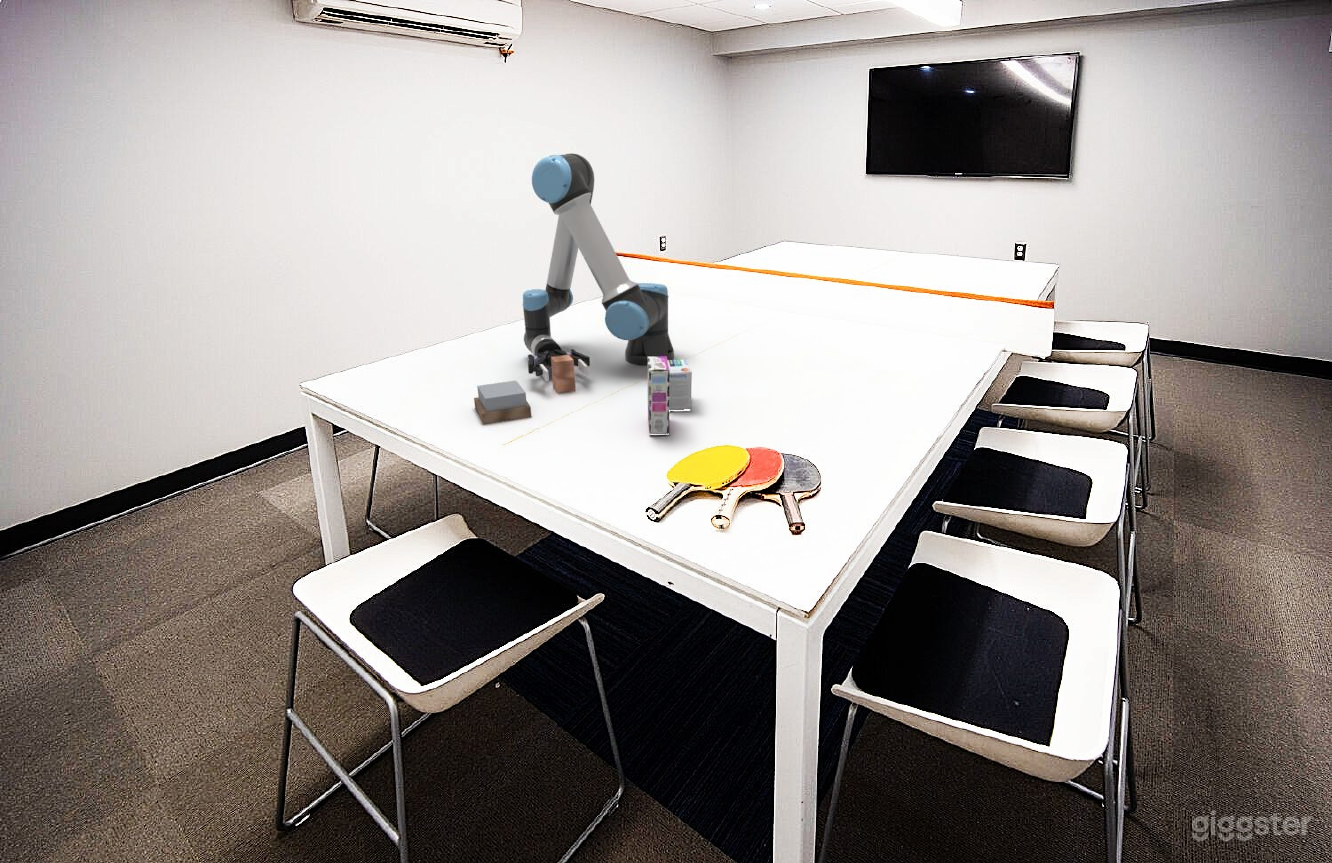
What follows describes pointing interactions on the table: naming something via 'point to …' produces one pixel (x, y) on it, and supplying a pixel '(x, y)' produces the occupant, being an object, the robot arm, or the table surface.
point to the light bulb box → (680, 384)
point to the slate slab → (501, 396)
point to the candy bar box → (658, 394)
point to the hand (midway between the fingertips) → (567, 373)
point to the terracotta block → (563, 374)
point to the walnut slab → (501, 413)
